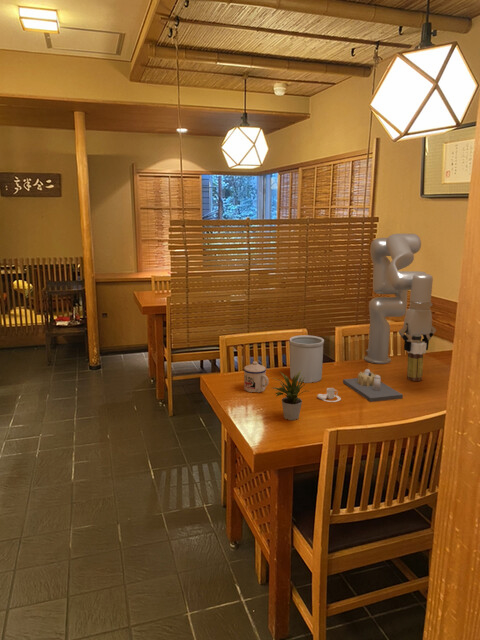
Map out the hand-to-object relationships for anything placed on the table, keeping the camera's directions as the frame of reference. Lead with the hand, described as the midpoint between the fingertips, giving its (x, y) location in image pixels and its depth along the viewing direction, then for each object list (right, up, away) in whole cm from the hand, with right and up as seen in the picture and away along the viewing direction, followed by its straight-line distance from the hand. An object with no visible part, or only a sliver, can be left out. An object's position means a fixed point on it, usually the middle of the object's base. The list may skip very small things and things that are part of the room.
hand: (415, 349), depth 181 cm
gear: (0, -1, 0) cm, 1 cm away
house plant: (-52, -22, -19) cm, 59 cm away
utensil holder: (-41, -14, +20) cm, 48 cm away
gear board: (-16, -17, +5) cm, 24 cm away
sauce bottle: (+6, -14, +19) cm, 24 cm away
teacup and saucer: (-36, -19, 0) cm, 41 cm away
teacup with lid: (-63, -17, +5) cm, 65 cm away
